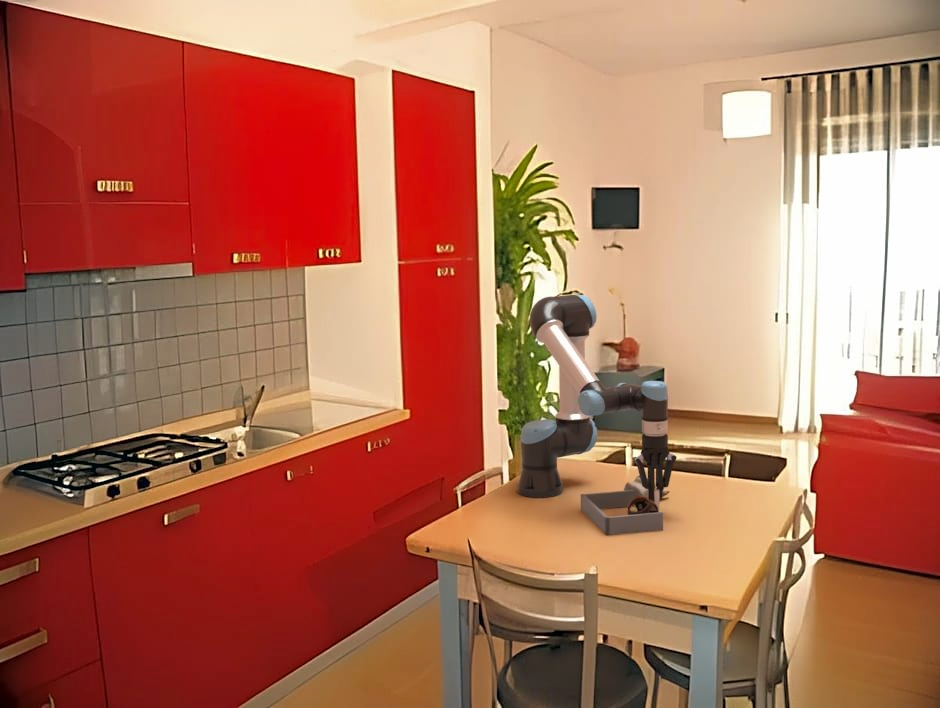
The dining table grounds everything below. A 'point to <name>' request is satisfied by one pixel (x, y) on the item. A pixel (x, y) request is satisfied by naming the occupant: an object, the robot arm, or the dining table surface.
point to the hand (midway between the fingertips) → (655, 510)
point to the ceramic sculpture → (640, 488)
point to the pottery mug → (642, 506)
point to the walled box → (618, 523)
